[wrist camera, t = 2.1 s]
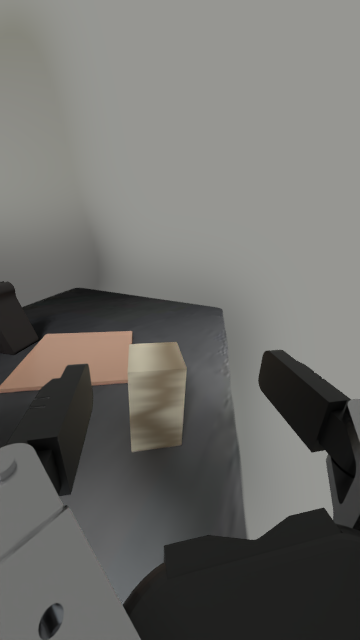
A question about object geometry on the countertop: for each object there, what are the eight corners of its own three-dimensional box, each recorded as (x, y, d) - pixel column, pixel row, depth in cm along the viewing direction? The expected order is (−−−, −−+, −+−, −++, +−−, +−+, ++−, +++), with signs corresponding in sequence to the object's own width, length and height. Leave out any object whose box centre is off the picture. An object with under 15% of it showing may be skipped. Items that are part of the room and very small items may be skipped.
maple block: (131, 452, 23) (127, 372, 19) (132, 413, 28) (129, 344, 24) (181, 445, 24) (186, 368, 20) (173, 408, 29) (176, 342, 25)
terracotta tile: (-3, 393, 30) (-4, 389, 30) (46, 336, 46) (46, 334, 46) (130, 382, 33) (130, 379, 33) (132, 333, 50) (132, 331, 50)
